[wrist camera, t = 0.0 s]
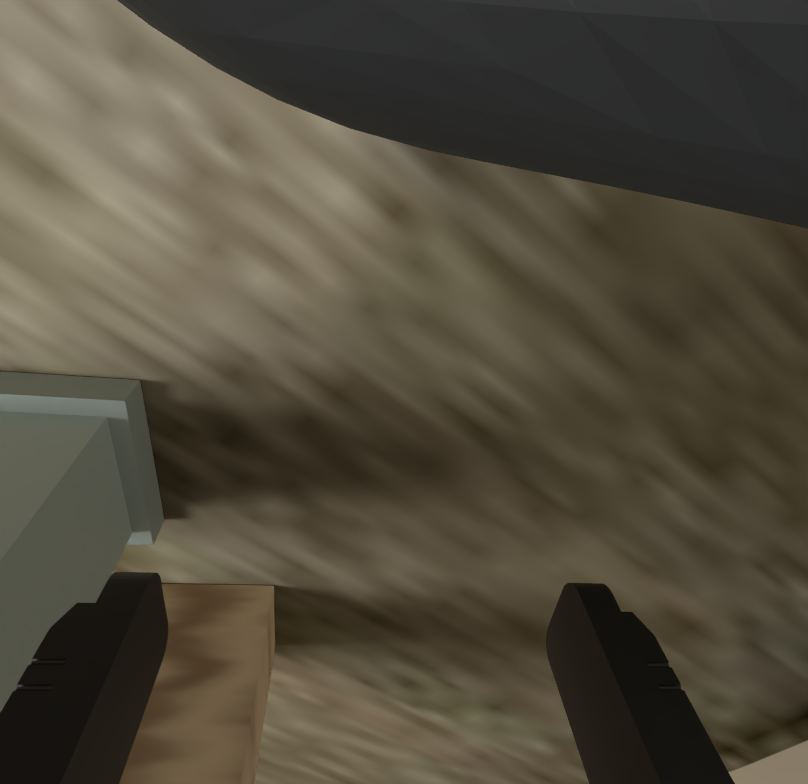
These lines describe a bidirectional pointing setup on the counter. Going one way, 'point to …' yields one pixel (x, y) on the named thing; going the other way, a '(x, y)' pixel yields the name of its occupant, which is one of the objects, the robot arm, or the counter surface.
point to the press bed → (208, 688)
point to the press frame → (66, 500)
